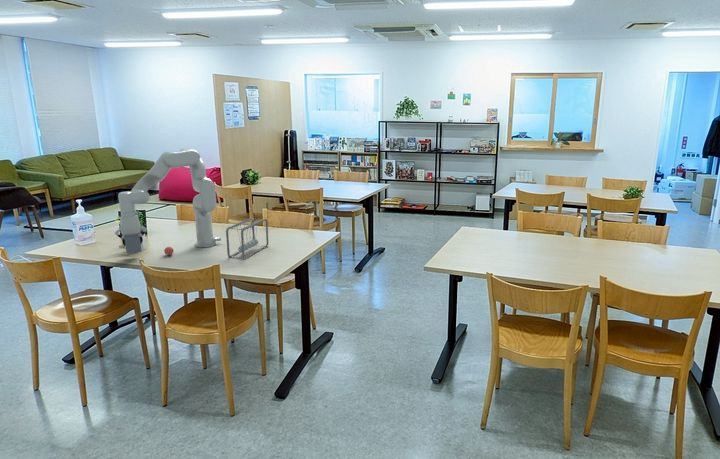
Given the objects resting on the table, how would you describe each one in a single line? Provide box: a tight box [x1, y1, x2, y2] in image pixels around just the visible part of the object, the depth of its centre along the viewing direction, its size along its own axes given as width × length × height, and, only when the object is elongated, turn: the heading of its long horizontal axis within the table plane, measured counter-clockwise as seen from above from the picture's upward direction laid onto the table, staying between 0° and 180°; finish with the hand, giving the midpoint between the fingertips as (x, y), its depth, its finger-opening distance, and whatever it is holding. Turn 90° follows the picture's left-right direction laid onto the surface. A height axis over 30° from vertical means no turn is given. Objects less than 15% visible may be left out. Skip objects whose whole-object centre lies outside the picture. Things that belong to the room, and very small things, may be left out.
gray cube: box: [124, 233, 143, 254], centre depth 279 cm, size 8×8×9 cm
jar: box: [141, 229, 147, 251], centre depth 297 cm, size 9×8×12 cm
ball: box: [163, 246, 174, 256], centre depth 286 cm, size 5×5×5 cm
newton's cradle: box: [225, 217, 269, 260], centre depth 291 cm, size 30×10×18 cm, turn 163°
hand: (133, 244), depth 280 cm, fingers closed on gray cube, 7 cm apart
